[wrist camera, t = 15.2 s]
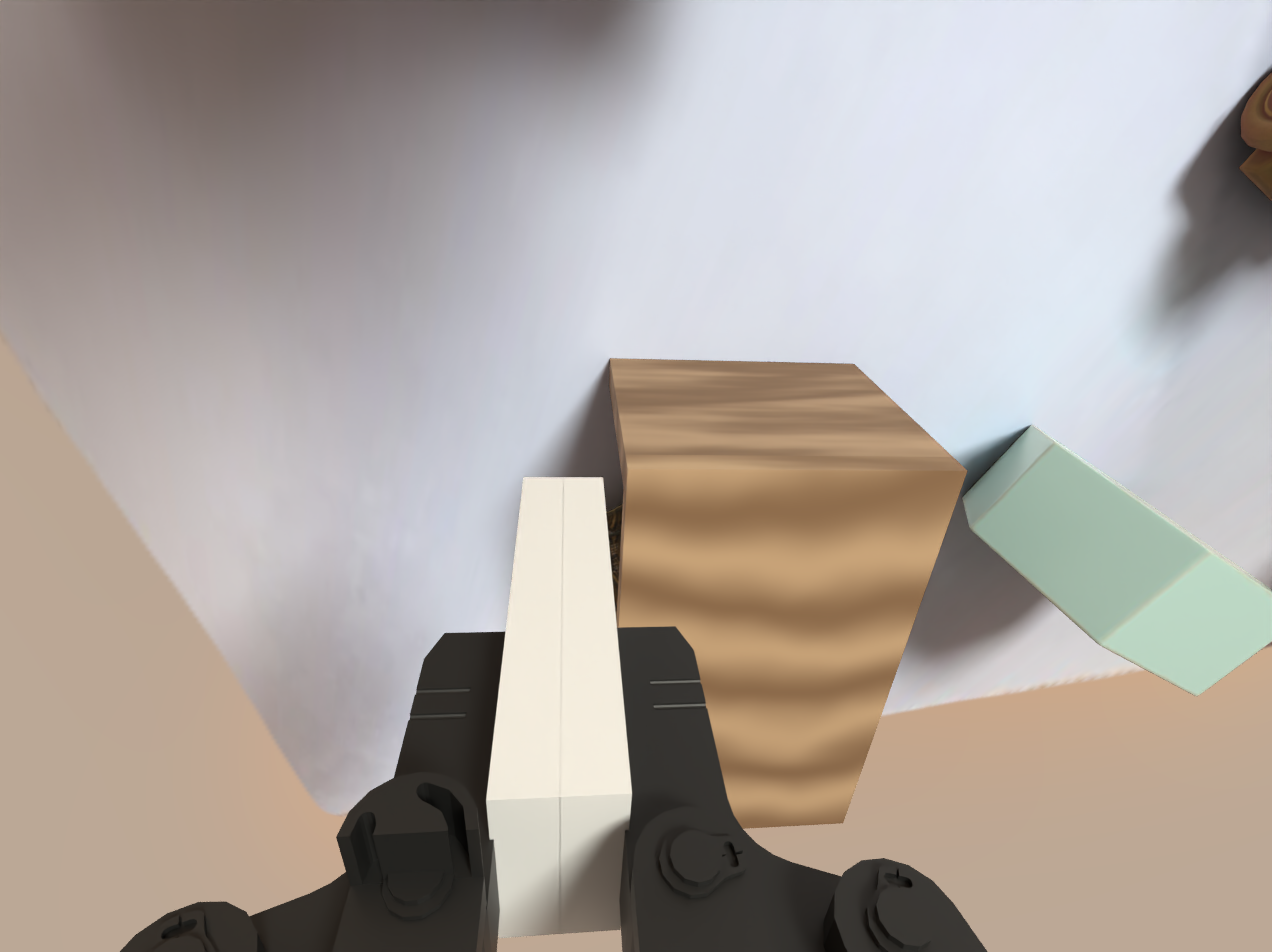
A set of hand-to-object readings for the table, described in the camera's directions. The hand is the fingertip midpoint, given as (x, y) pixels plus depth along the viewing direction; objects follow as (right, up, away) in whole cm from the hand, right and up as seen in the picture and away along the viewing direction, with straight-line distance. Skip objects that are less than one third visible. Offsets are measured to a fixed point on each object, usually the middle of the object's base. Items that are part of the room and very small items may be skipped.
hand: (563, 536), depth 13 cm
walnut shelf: (+7, -4, +40) cm, 41 cm away
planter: (+34, +1, +41) cm, 53 cm away
